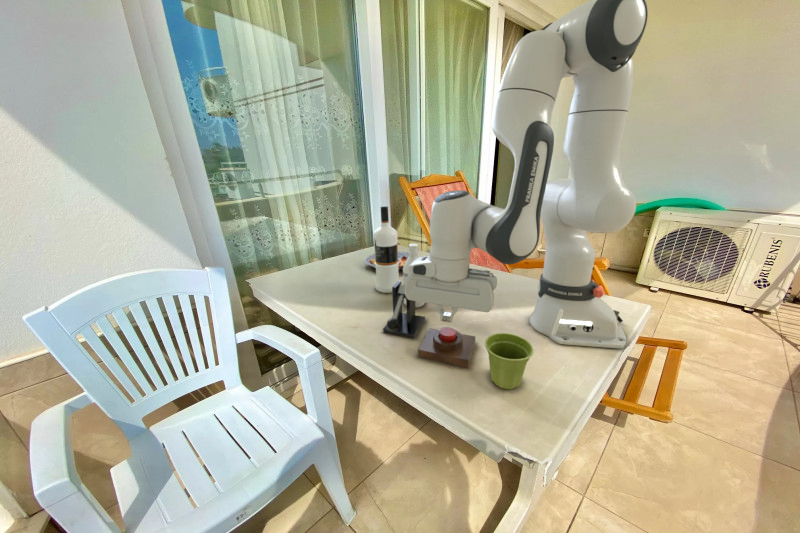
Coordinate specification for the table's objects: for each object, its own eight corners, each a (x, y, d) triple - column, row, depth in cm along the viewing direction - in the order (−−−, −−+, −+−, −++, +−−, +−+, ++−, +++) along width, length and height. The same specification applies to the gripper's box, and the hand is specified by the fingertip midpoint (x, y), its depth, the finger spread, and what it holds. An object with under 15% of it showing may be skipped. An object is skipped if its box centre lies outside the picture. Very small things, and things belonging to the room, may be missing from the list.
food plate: (432, 263, 134) (432, 256, 133) (395, 279, 118) (395, 271, 117) (392, 252, 150) (391, 245, 149) (355, 265, 135) (354, 258, 133)
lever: (398, 334, 77) (395, 329, 75) (387, 331, 78) (383, 326, 76) (411, 290, 84) (409, 284, 81) (401, 289, 85) (398, 283, 82)
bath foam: (412, 310, 95) (410, 249, 88) (399, 302, 100) (397, 244, 93) (429, 304, 98) (429, 245, 91) (416, 296, 104) (415, 240, 97)
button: (457, 334, 75) (457, 328, 74) (454, 343, 72) (454, 337, 71) (441, 331, 76) (441, 325, 76) (437, 340, 73) (437, 334, 72)
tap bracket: (413, 338, 80) (413, 295, 76) (383, 332, 84) (380, 290, 79) (425, 320, 89) (425, 280, 85) (396, 315, 92) (395, 276, 88)
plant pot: (479, 389, 63) (482, 354, 60) (484, 361, 71) (487, 329, 68) (528, 400, 59) (534, 364, 56) (528, 370, 68) (532, 337, 64)
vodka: (401, 293, 107) (399, 207, 96) (375, 294, 106) (369, 209, 96) (399, 282, 115) (396, 203, 105) (375, 284, 115) (370, 204, 104)
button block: (475, 343, 77) (475, 330, 76) (468, 368, 69) (468, 353, 67) (429, 335, 82) (429, 322, 80) (418, 357, 73) (417, 343, 72)
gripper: (499, 266, 66) (493, 321, 71) (411, 257, 74) (411, 307, 78) (496, 277, 61) (490, 336, 66) (401, 265, 68) (402, 319, 73)
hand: (446, 320), depth 72 cm, fingers closed
